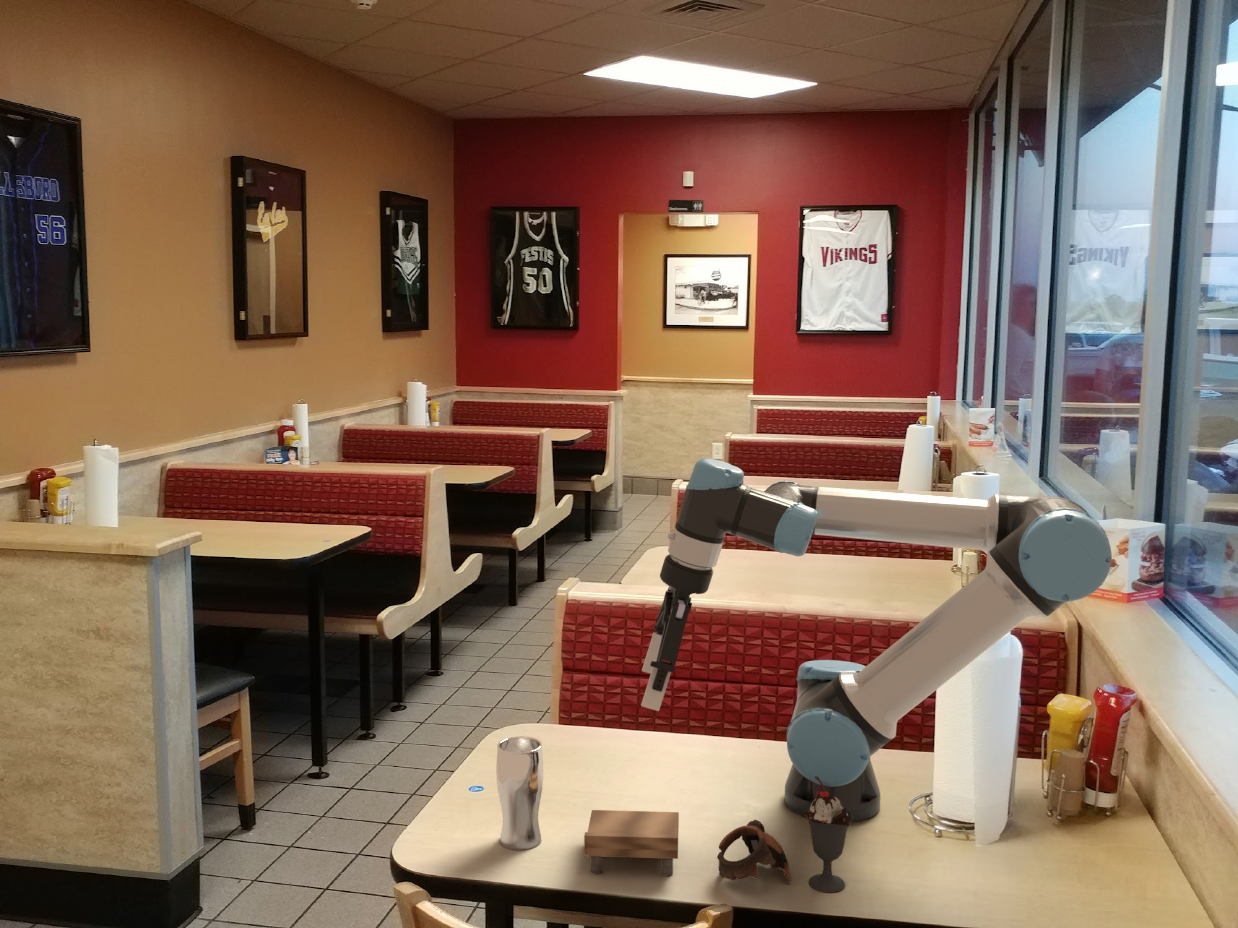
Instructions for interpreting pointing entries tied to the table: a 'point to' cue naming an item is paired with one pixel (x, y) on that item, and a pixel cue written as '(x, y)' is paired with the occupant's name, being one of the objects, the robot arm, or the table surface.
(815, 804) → the sundae
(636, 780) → the table surface
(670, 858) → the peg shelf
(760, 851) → the broken clay pot
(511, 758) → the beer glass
